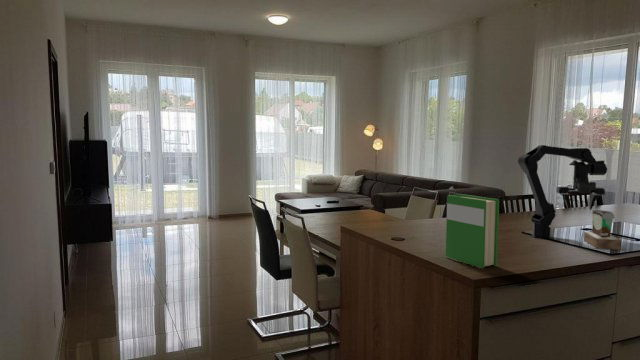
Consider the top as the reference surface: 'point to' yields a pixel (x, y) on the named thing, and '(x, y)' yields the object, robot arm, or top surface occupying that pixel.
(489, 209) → the hardback book
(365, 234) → the top surface
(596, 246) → the base board
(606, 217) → the food container
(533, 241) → the top surface
